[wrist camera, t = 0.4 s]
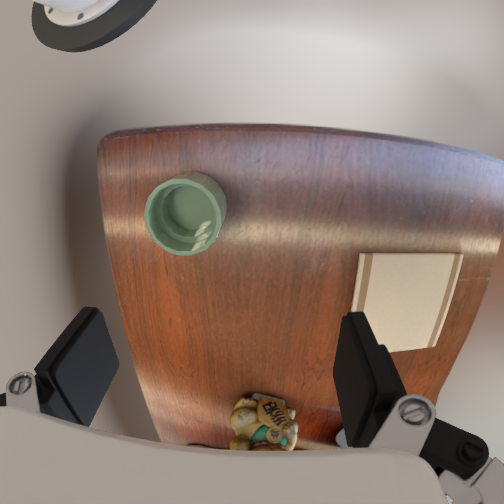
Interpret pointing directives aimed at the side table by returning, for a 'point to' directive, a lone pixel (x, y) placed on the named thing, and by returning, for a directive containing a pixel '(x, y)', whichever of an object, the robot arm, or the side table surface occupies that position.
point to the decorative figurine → (263, 424)
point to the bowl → (185, 213)
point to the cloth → (406, 296)
